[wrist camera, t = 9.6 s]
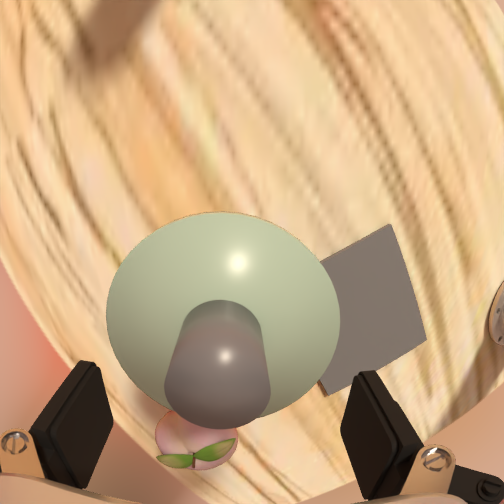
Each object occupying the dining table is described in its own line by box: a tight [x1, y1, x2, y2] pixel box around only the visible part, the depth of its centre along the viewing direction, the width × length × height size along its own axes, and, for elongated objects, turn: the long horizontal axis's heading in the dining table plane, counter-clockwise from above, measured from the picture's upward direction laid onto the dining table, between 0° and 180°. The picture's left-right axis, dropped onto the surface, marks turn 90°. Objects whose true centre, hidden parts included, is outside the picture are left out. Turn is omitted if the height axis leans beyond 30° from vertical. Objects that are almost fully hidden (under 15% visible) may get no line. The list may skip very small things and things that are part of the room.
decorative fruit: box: [155, 410, 238, 470], centre depth 31 cm, size 9×8×10 cm
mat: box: [320, 224, 427, 396], centre depth 33 cm, size 16×14×1 cm
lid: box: [106, 211, 340, 429], centre depth 14 cm, size 12×12×6 cm
